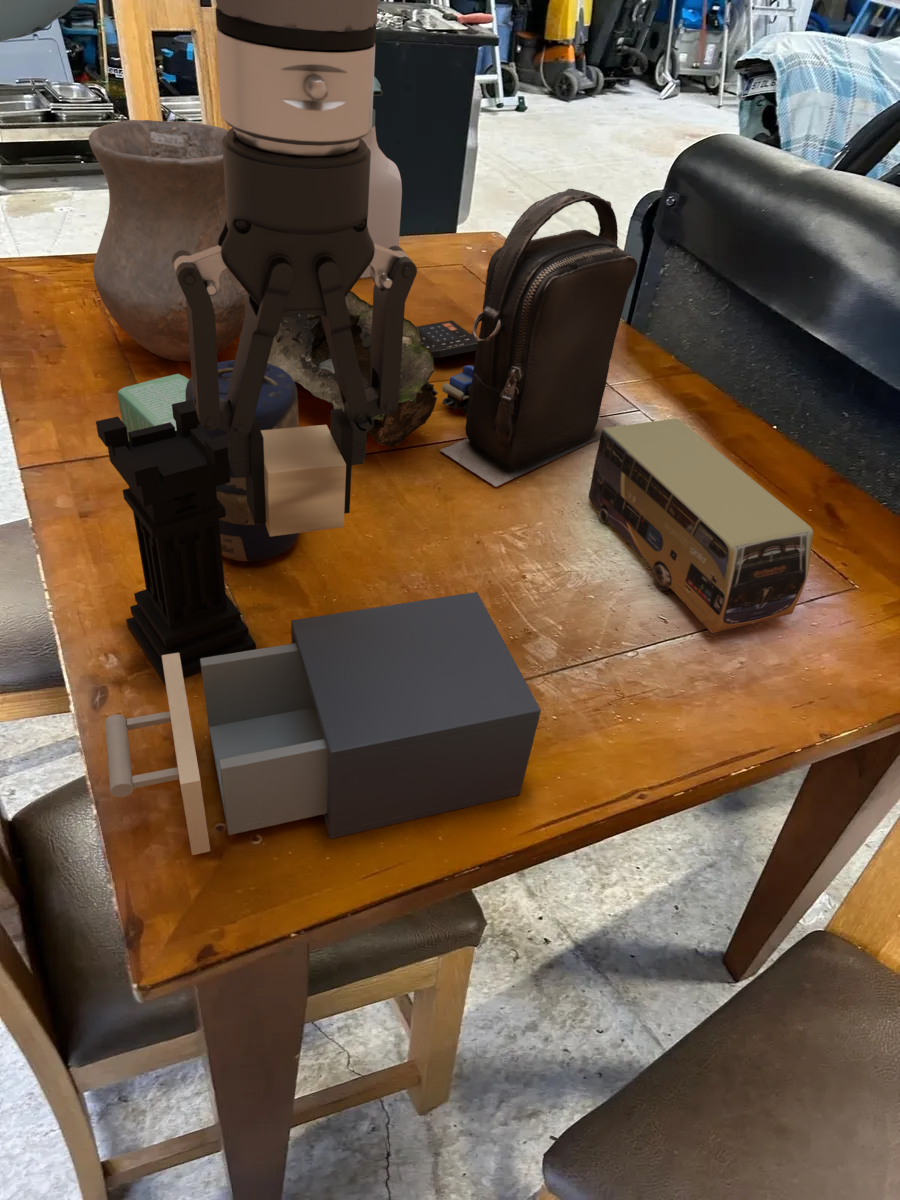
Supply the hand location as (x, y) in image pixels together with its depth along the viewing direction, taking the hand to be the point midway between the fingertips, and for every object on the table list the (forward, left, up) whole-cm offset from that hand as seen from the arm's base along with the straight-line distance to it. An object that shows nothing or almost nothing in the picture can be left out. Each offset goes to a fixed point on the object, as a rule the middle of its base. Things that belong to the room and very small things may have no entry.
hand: (298, 506), depth 60 cm
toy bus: (+37, +19, -19) cm, 46 cm away
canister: (-6, +20, -19) cm, 28 cm away
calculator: (+16, +64, -19) cm, 68 cm away
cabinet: (+8, -6, -18) cm, 21 cm away
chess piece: (-10, +6, -18) cm, 22 cm away
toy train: (+23, +53, -19) cm, 61 cm away
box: (-14, +32, -19) cm, 39 cm away
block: (0, 0, 0) cm, 0 cm away
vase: (-18, +59, -18) cm, 64 cm away
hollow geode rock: (+3, +45, -18) cm, 49 cm away
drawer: (-3, -9, -17) cm, 20 cm away
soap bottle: (+4, +89, -19) cm, 91 cm away
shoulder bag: (+25, +41, -18) cm, 51 cm away
